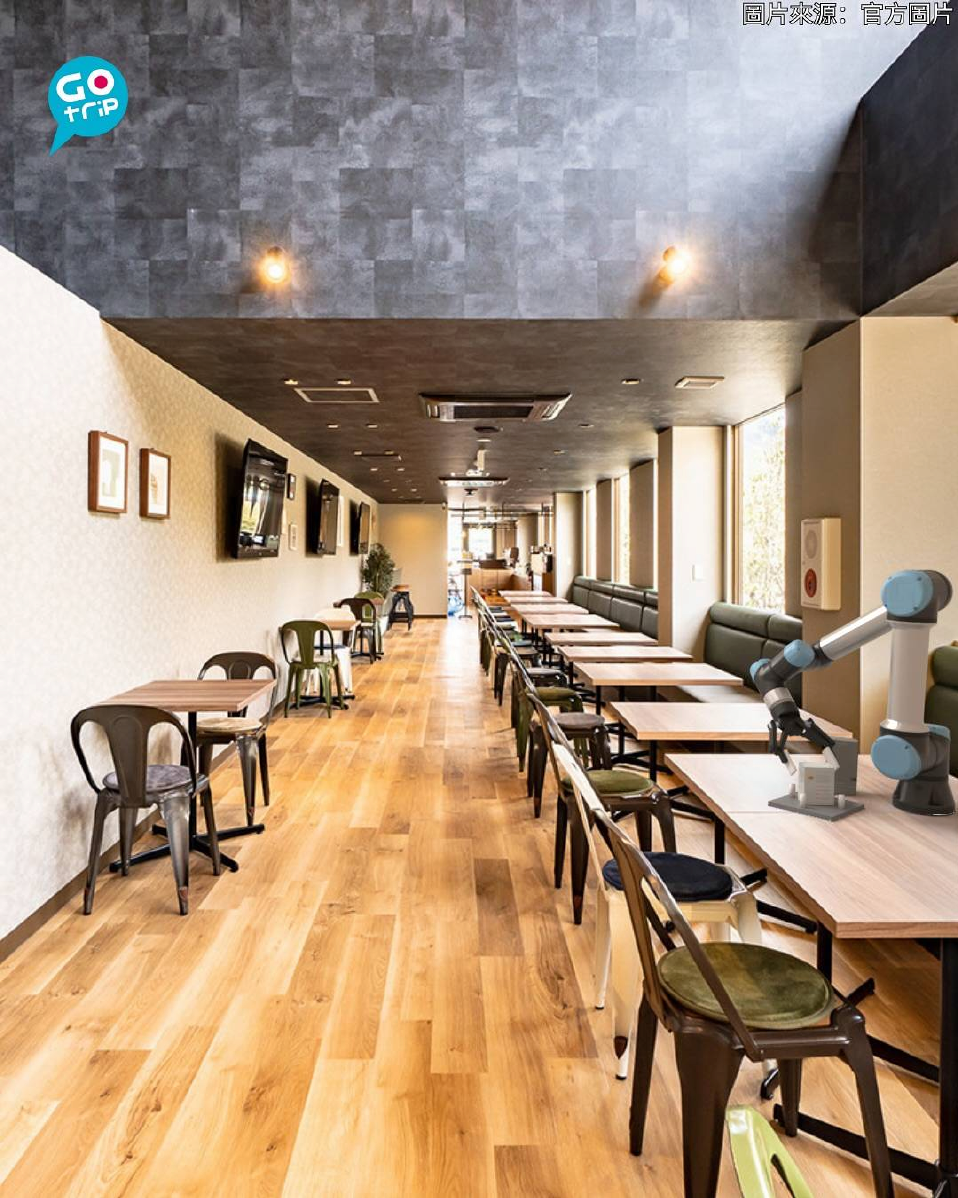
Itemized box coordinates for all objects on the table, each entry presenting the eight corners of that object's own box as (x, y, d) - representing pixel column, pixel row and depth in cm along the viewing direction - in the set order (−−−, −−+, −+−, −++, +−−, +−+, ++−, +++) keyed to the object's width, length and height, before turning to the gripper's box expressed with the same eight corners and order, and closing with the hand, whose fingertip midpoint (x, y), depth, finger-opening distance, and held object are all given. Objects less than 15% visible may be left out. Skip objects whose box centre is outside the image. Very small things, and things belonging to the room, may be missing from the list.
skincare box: (826, 794, 239) (827, 739, 238) (823, 787, 246) (824, 734, 245) (858, 796, 237) (859, 741, 236) (854, 790, 243) (855, 736, 243)
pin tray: (801, 794, 239) (802, 777, 238) (864, 808, 225) (864, 790, 225) (768, 805, 227) (768, 788, 227) (832, 821, 213) (832, 803, 213)
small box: (827, 800, 228) (828, 762, 228) (834, 806, 223) (835, 767, 222) (797, 799, 229) (798, 761, 229) (803, 805, 224) (804, 766, 223)
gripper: (812, 712, 246) (846, 775, 232) (738, 716, 239) (769, 781, 225) (825, 697, 240) (860, 761, 227) (749, 701, 234) (781, 766, 220)
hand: (815, 771), depth 226 cm, fingers open, 13 cm apart
